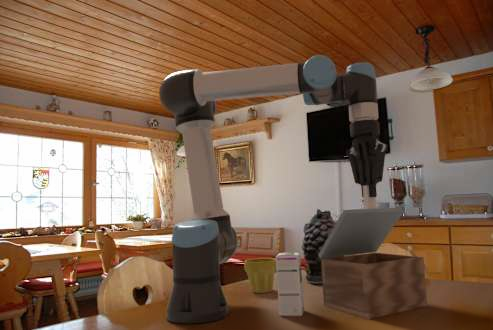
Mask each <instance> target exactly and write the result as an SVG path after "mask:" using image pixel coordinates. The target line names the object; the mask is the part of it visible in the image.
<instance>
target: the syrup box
mask: <svg viewBox="0 0 493 330" xmlns="http://www.w3.org/2000/svg"><path fill="white" fill-rule="evenodd" d="M275 259H276V271H275V274H276V287H277V288H276V289H277V302H278V303H277V304H278V315H279V316H282V317H283V316H284V317H302V316H303V315H304V311H305V305H304V291H303V289H304V288H303V276H302V264H301V263H302V262H301V261H302V259H301V253H300V252H293V251H290V252H280V253H278V254H277V255H276V256H275Z"/></svg>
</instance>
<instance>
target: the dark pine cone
mask: <svg viewBox="0 0 493 330" xmlns="http://www.w3.org/2000/svg"><path fill="white" fill-rule="evenodd" d="M313 215H314V216H312V217H310V220H309V221H308V223H304V227H303V233H304V237H303V239H302V244H301V250H303V251H302V252H303V253H302V254H303V259H305V263H306V264H305V265H304V271H305V273H306V275H305V279H306V281H307V283H309V284H310V283H312V284H323V281H322V264H321V259H326V258H321V259H320V257H319V256H318V254H319V253H320V251H321V249H322V247H323V245H324V244H325V242H326V240H327V238H328V237H329V235H330V233H331V231H332V230H333V228H334V226H335V224H336V223H337V222H335V221H334V219H333V217H332V213H331V211H330V210H325V211H322V209H319V208H318V209H316V214H313ZM338 257H343V256H338ZM329 258H335V257H329Z"/></svg>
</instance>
